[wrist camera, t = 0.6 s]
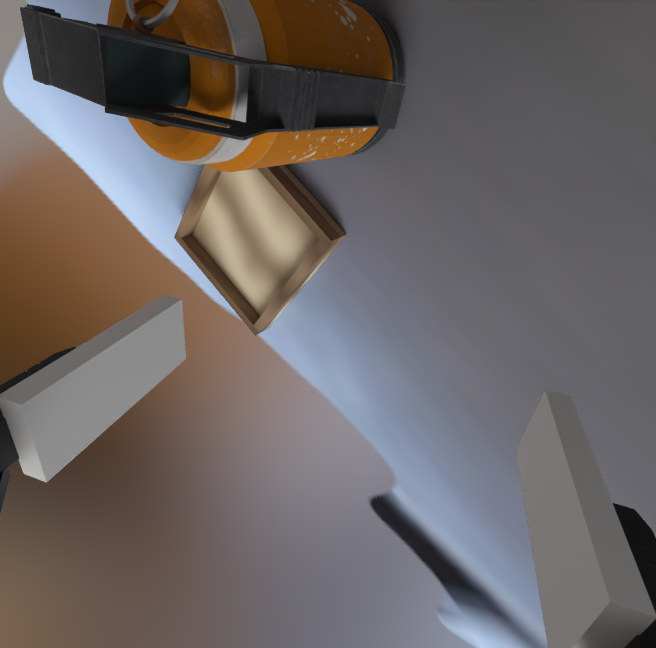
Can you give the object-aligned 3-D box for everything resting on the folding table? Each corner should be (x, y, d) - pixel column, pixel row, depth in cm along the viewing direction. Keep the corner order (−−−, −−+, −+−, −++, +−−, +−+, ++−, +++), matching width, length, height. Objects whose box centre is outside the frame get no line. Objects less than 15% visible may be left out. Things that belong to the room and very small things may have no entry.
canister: (309, -2, 28) (-49, -132, 13) (459, 25, 24) (181, -121, 9) (291, 136, 33) (17, 154, 18) (413, 178, 29) (185, 246, 14)
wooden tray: (243, 117, 35) (223, 118, 33) (346, 234, 34) (331, 241, 32) (191, 232, 45) (174, 237, 43) (269, 326, 43) (255, 335, 42)
